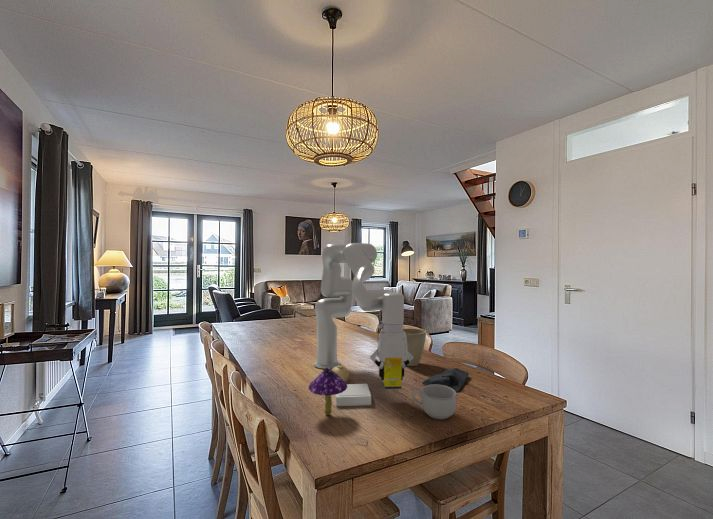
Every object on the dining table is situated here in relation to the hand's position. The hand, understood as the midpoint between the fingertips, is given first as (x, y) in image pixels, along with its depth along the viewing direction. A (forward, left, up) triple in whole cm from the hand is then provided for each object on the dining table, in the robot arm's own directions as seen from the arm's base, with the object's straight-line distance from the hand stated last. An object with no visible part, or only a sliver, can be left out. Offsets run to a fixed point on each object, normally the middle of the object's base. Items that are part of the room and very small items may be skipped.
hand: (391, 378), depth 119 cm
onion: (-21, -18, -8) cm, 29 cm away
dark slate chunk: (-18, +27, -9) cm, 33 cm away
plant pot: (-42, +17, -8) cm, 46 cm away
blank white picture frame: (-3, -14, -8) cm, 16 cm away
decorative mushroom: (+9, -22, -8) cm, 25 cm away
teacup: (+12, +11, -8) cm, 18 cm away
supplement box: (0, 0, -3) cm, 3 cm away
